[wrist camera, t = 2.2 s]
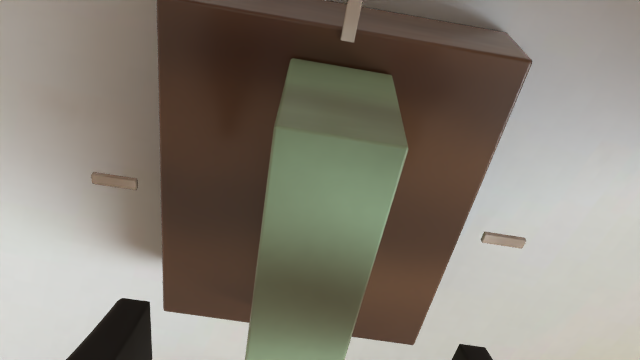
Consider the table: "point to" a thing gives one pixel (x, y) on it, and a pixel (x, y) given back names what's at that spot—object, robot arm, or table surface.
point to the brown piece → (257, 132)
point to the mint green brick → (323, 209)
